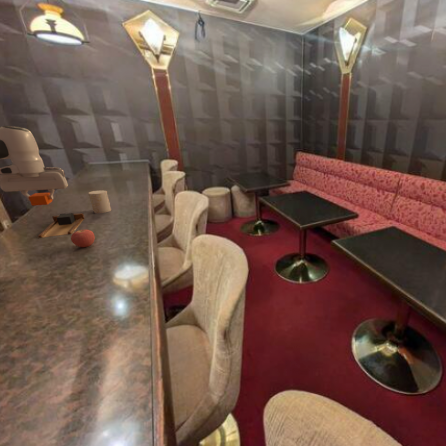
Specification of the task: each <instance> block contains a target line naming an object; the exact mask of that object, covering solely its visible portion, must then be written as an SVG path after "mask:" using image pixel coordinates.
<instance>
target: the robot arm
mask: <svg viewBox="0 0 446 446" xmlns="http://www.w3.org/2000/svg"><path fill="white" fill-rule="evenodd" d="M8 159H9V160H10V161H11V164H8V165H6V166H2V167H0V190H1V191H3V192H5V193H9V192H20V194H21V195H23V196H24V197H25V198H26V199H27V201H28V202H30V199H29V196H31V195H30V194H29V191H44V190H47V191H48V193H50V195H47V198H48V200H49V199H52V200H54V193H55V191H56V190H62V189H67V188H68V186H69V183H68V181H67V178H66V173H65V170H63V169H62V168H60V167H58V166H53V167H52V166H51V167H50V166H49V167H47V166H45V164H44V161H43V158H42V157H41V156H40V150H39V146H38V143H37V141H36V138H35V137H34V134H33V133H32V132H31V131H30V130H29V129H27V128H25V127H23V126H14V125H2V126H0V161H1V160H8Z"/></svg>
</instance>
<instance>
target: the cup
mask: <svg viewBox="0 0 446 446" xmlns="http://www.w3.org/2000/svg"><path fill="white" fill-rule="evenodd" d="M88 196H89V197H88V198H89V200H90V204H91V207H92V210H93V213H95V214H103V213H109V212H111V211H112V207H111V203H110V200H109V195H108V191H107V190H103V189H102V190H100V189H99V190H93V191H88Z"/></svg>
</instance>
